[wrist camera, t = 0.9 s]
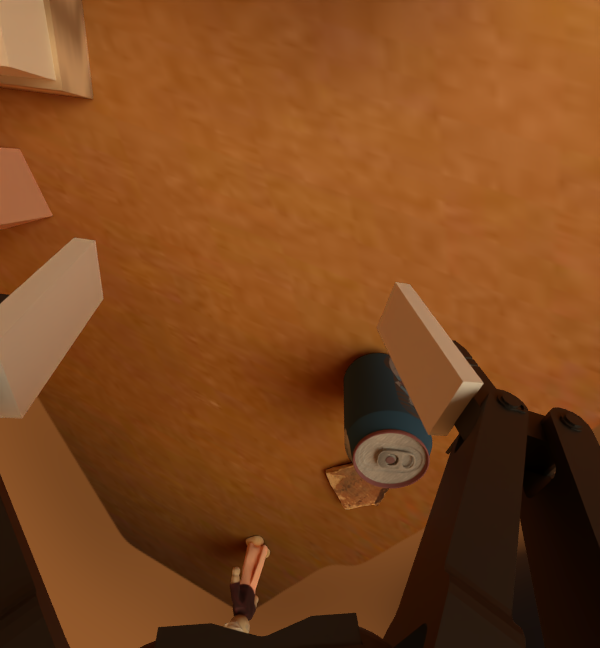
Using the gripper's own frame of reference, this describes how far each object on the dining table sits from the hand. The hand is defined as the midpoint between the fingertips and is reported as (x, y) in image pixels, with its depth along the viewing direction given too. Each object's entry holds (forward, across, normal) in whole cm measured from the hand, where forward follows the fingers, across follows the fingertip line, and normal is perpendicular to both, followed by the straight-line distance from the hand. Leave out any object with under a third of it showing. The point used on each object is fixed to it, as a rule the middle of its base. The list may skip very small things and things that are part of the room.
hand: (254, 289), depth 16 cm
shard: (+10, +17, -29) cm, 35 cm away
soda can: (+12, +15, -16) cm, 25 cm away
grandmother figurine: (+9, +7, -48) cm, 50 cm away
